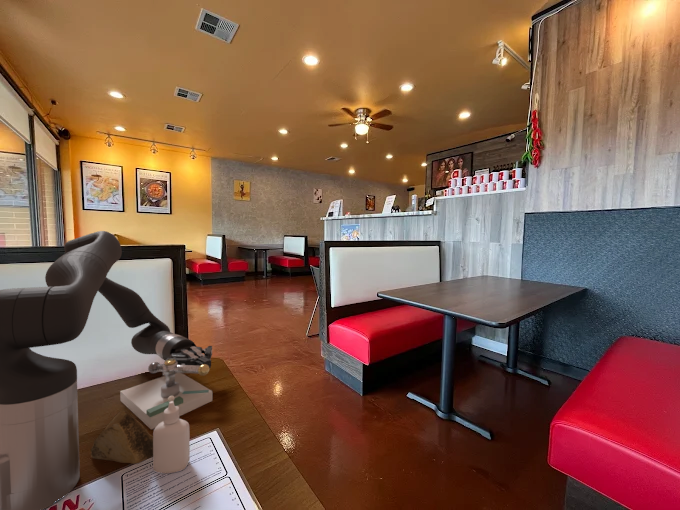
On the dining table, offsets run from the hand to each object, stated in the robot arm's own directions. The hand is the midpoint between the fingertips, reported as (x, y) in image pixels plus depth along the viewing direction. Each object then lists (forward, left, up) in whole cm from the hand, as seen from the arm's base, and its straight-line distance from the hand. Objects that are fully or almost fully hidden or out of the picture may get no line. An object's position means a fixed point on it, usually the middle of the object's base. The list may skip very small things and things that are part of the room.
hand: (208, 365), depth 73 cm
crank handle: (-5, +4, -4) cm, 8 cm away
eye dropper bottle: (-16, -15, -9) cm, 24 cm away
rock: (-20, -5, -9) cm, 22 cm away
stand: (-7, +8, -9) cm, 14 cm away
